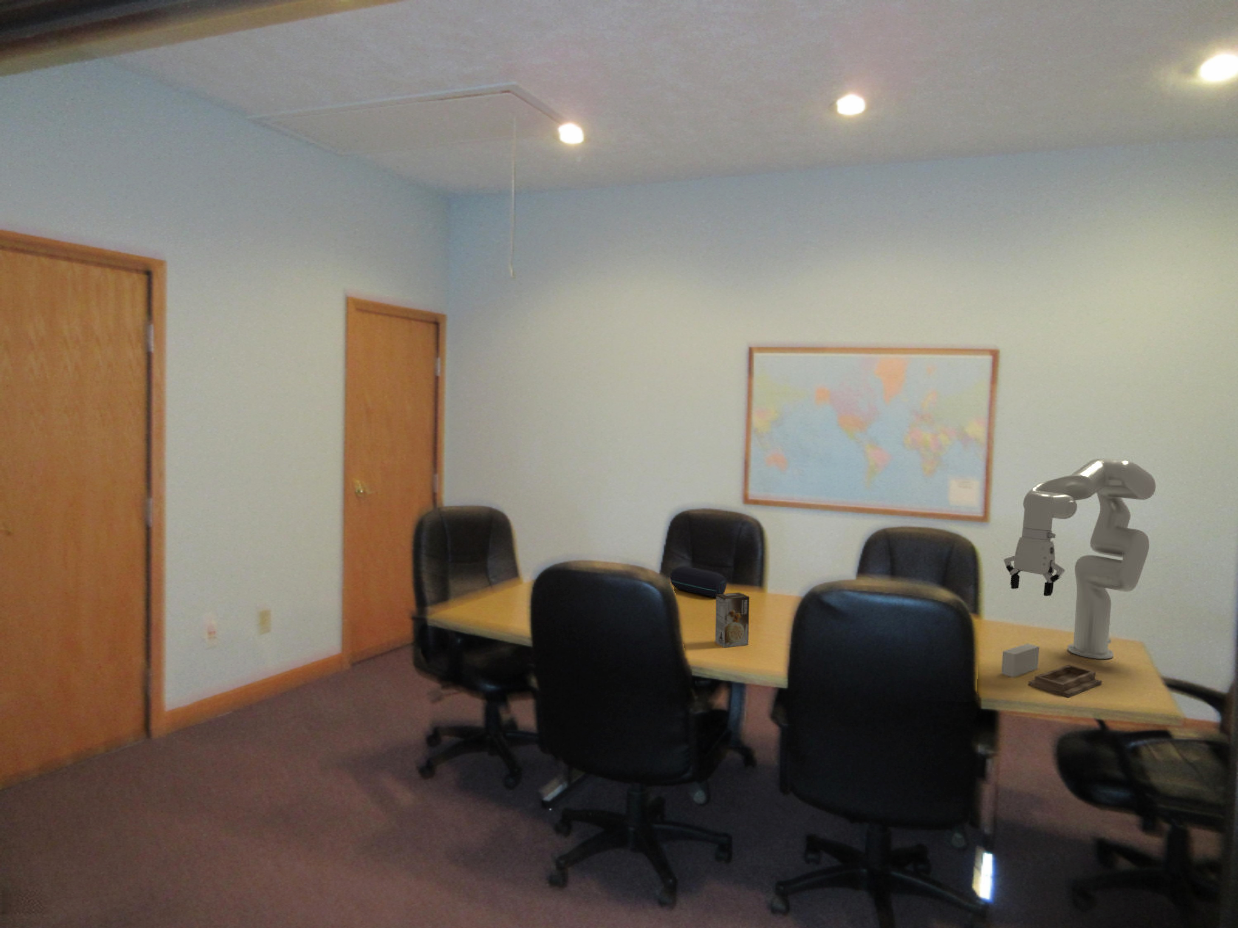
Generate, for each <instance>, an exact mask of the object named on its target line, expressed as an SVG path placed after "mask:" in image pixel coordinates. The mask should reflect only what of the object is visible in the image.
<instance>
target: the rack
mask: <svg viewBox="0 0 1238 928" xmlns="http://www.w3.org/2000/svg"><path fill="white" fill-rule="evenodd" d="M1096 673H1097V672H1096V671H1094V670H1093V671H1092V670H1089V669H1086V668H1082V667H1078V666H1074V665H1071V664H1066V665H1064V666H1060V667H1059V668H1055V669H1052V670H1049V671H1047V672H1044V673H1041V674H1039V675H1036V676H1034V679H1032V680H1029V681H1028V682H1027V683H1028V684H1027V685H1028V686H1030V687H1032V688H1033V687H1034V688H1036V689H1039V690H1040V689H1041V690H1043V691H1047V692H1049V693H1053V694H1056V695H1059V696H1063V697H1066V698H1071V697H1073V696H1075V695H1078V694H1080V693H1083V692H1086V691H1089V690H1090V688H1091V689H1093V688H1095V687H1096V688H1097V687H1098V686H1101V685H1102V684H1103V683H1102V682H1103V680H1100V679H1096V676H1097V675H1096Z"/></svg>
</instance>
